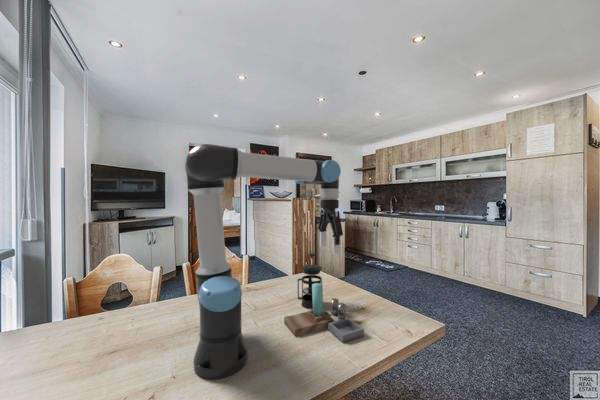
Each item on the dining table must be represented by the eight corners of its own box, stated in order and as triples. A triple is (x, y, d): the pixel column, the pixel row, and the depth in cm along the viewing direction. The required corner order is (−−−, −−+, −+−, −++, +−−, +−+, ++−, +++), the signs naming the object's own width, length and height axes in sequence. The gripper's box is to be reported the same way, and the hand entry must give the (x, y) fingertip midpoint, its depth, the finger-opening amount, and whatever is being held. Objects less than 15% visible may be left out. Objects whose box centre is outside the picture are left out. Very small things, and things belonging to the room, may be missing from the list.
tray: (342, 343, 82) (342, 335, 82) (328, 330, 91) (328, 323, 90) (364, 336, 86) (364, 329, 86) (348, 324, 94) (348, 317, 94)
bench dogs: (341, 322, 96) (341, 306, 96) (329, 313, 103) (329, 299, 103) (347, 320, 97) (347, 305, 97) (335, 312, 105) (335, 297, 104)
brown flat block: (295, 338, 86) (295, 326, 86) (284, 324, 95) (284, 313, 95) (333, 327, 93) (333, 316, 93) (320, 316, 102) (320, 305, 102)
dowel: (316, 319, 93) (315, 286, 94) (311, 315, 97) (310, 284, 97) (325, 316, 95) (324, 285, 95) (319, 313, 99) (319, 282, 99)
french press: (321, 299, 117) (321, 251, 117) (325, 308, 108) (325, 255, 108) (296, 301, 116) (296, 251, 115) (298, 310, 106) (298, 256, 106)
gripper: (352, 199, 94) (351, 255, 94) (326, 198, 118) (325, 243, 118) (334, 199, 92) (333, 256, 92) (311, 198, 115) (310, 244, 116)
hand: (329, 249), depth 105 cm, fingers open, 13 cm apart
